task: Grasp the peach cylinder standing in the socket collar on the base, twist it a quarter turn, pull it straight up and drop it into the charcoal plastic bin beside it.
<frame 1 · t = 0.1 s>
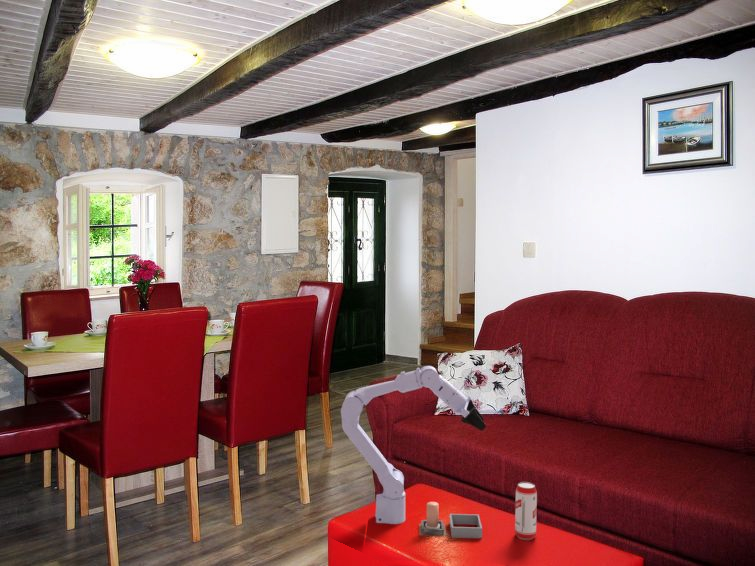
hand: (482, 424, 208), 32 cm above the table, tool tilted 50°, fingers open, 7 cm apart
peach cylinder: (432, 529, 204), point 1 cm above the table, touching stud base
bin: (465, 533, 204), on the table
beer can: (525, 537, 202), on the table
stud base: (432, 532, 204), on the table
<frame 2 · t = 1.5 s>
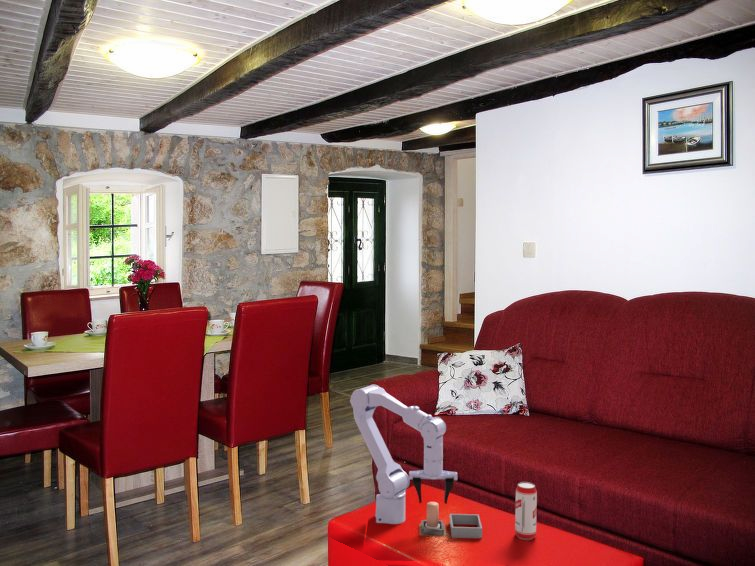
hand: (432, 502, 204), 10 cm above the table, tool pointing down, fingers open, 7 cm apart
nothing on the table moved.
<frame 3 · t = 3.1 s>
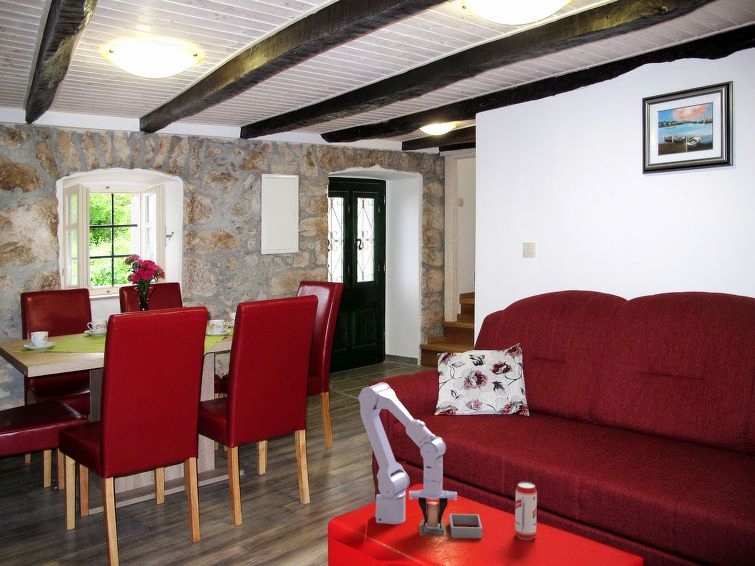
hand: (432, 521, 204), 3 cm above the table, tool pointing down, fingers closed on peach cylinder, 4 cm apart
peach cylinder: (432, 529, 204), point 1 cm above the table, touching gripper, stud base
everything else where it was.
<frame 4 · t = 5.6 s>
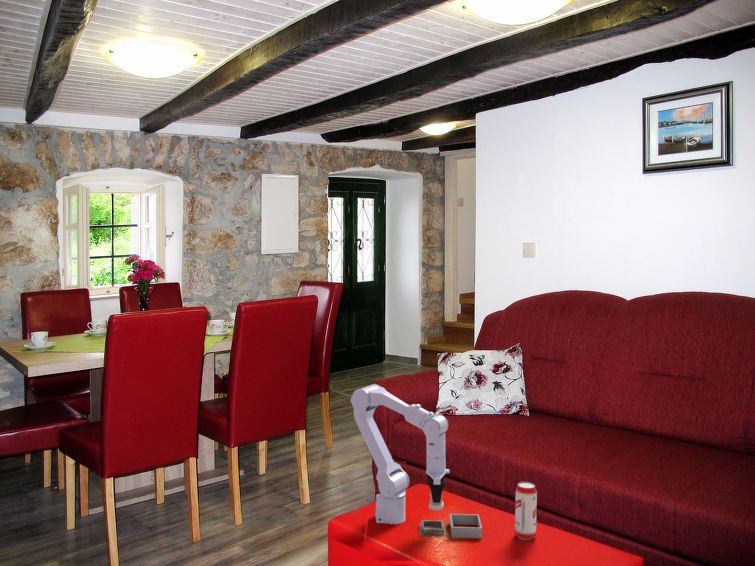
hand: (436, 499, 203), 10 cm above the table, tool pointing down, fingers closed on peach cylinder, 4 cm apart
peach cylinder: (436, 507, 204), point 8 cm above the table, touching gripper
everything else where it was.
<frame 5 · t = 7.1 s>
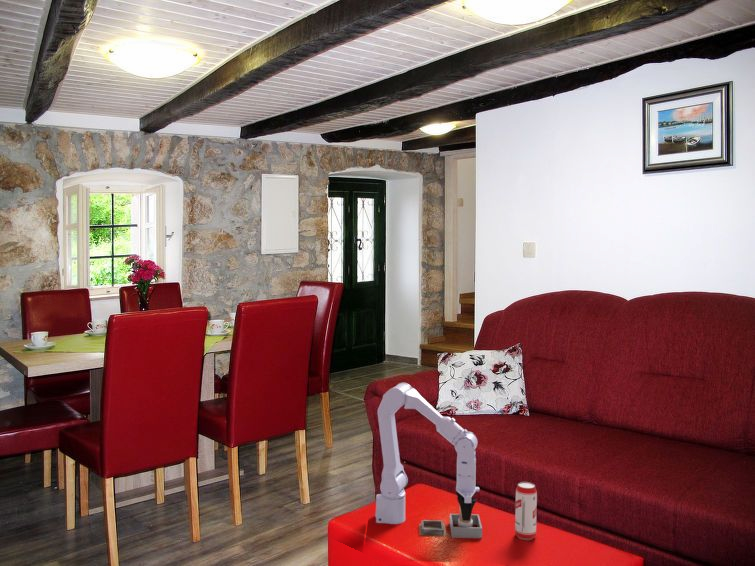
hand: (465, 517, 204), 5 cm above the table, tool pointing down, fingers closed on peach cylinder, 4 cm apart
peach cylinder: (465, 525, 204), point 3 cm above the table, touching gripper
everything else where it was.
when the fingers open (4 cm above the table, at t = 8.0 s): peach cylinder drops 1 cm, resting on bin.
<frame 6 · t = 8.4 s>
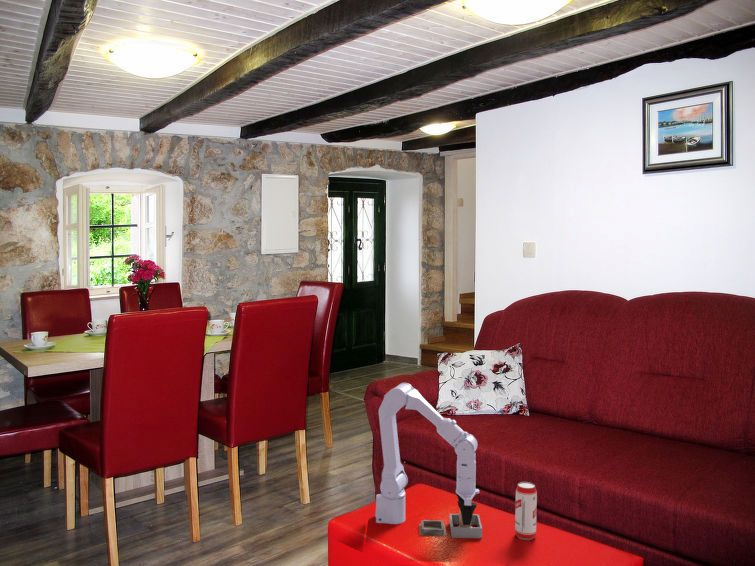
hand: (465, 519, 204), 4 cm above the table, tool pointing down, fingers open, 7 cm apart
peach cylinder: (465, 532, 204), resting on bin
everything else where it was.
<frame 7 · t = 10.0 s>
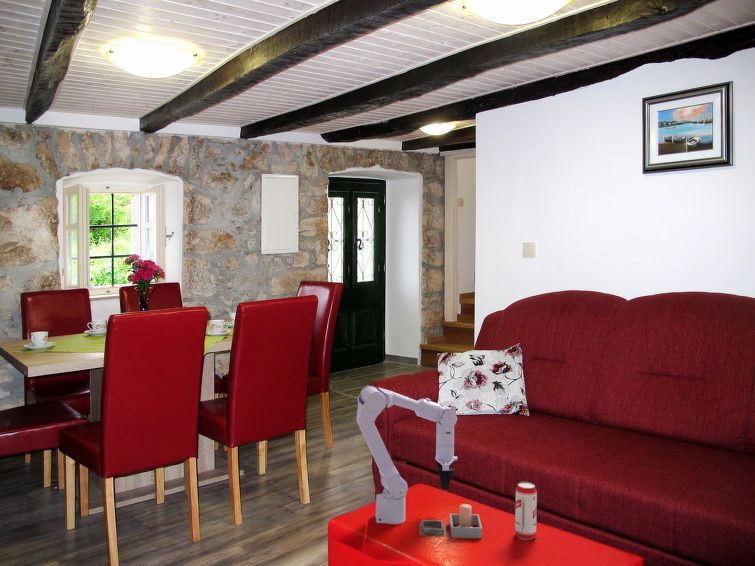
hand: (444, 485, 216), 10 cm above the table, tool pointing down, fingers open, 7 cm apart
nothing on the table moved.
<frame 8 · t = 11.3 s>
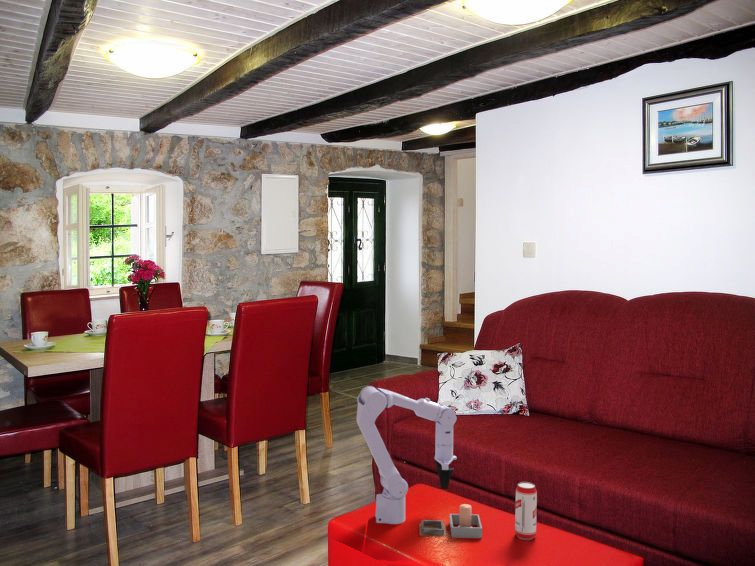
hand: (443, 484, 217), 10 cm above the table, tool pointing down, fingers open, 7 cm apart
nothing on the table moved.
at the end: peach cylinder inside the target area on the bin (0.0 cm from its centre), point 0.5 cm above the bin's base; the gripper is holding nothing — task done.
